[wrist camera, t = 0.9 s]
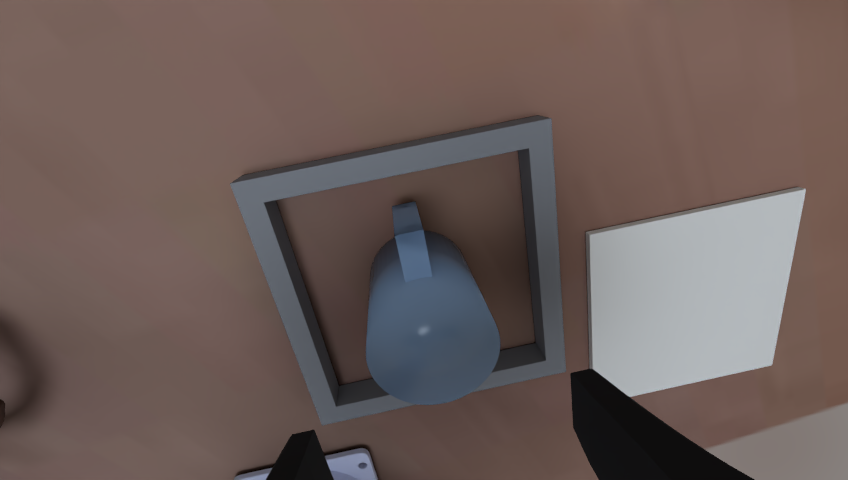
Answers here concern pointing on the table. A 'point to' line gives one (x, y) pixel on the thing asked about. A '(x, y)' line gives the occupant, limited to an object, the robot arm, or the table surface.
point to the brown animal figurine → (2, 412)
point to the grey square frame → (270, 185)
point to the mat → (690, 292)
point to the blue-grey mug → (427, 317)
